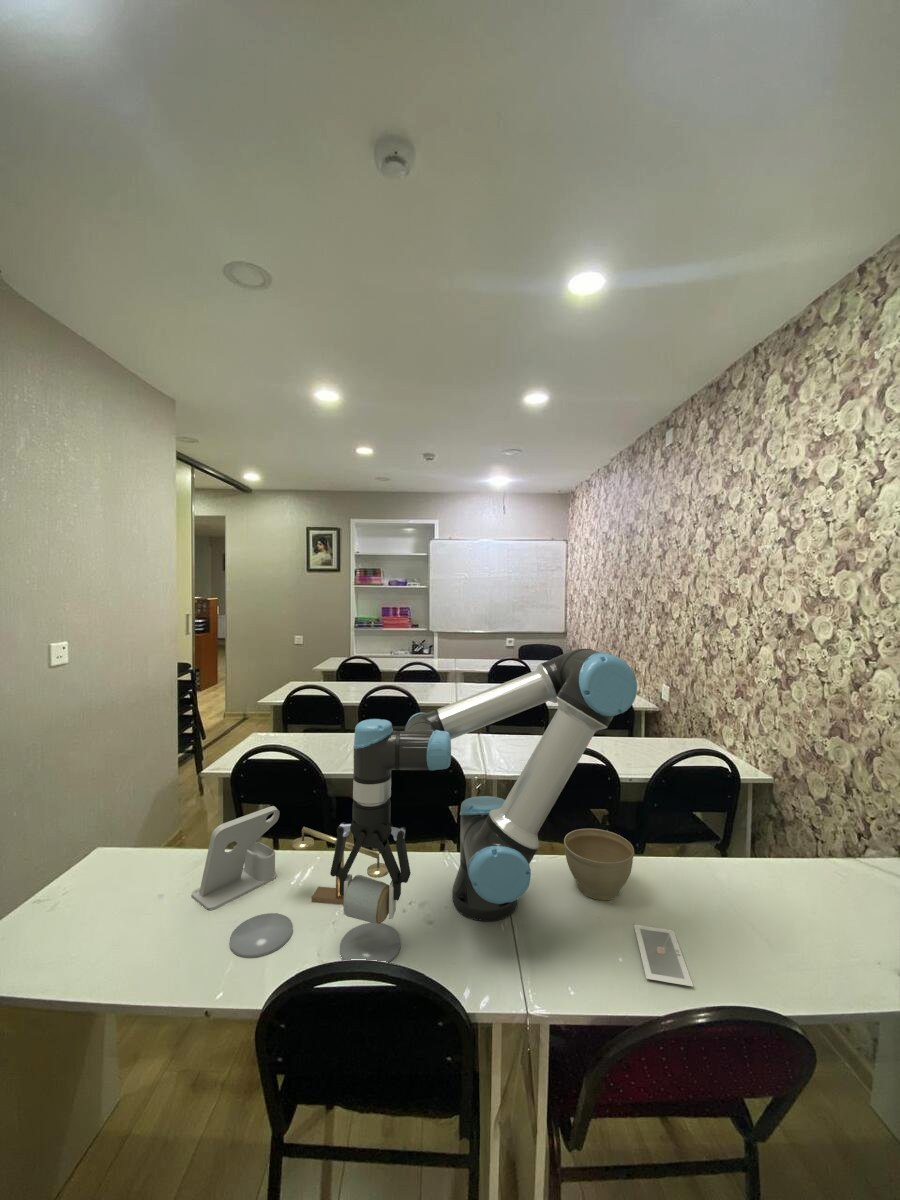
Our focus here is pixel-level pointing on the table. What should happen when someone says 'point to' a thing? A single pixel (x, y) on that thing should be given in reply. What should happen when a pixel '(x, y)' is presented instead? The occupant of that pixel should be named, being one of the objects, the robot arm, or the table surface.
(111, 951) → the table surface
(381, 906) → the ceramic mug
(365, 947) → the dish low side
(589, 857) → the planter bowl
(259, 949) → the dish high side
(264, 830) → the phone holder
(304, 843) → the balance
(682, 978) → the touchpad
